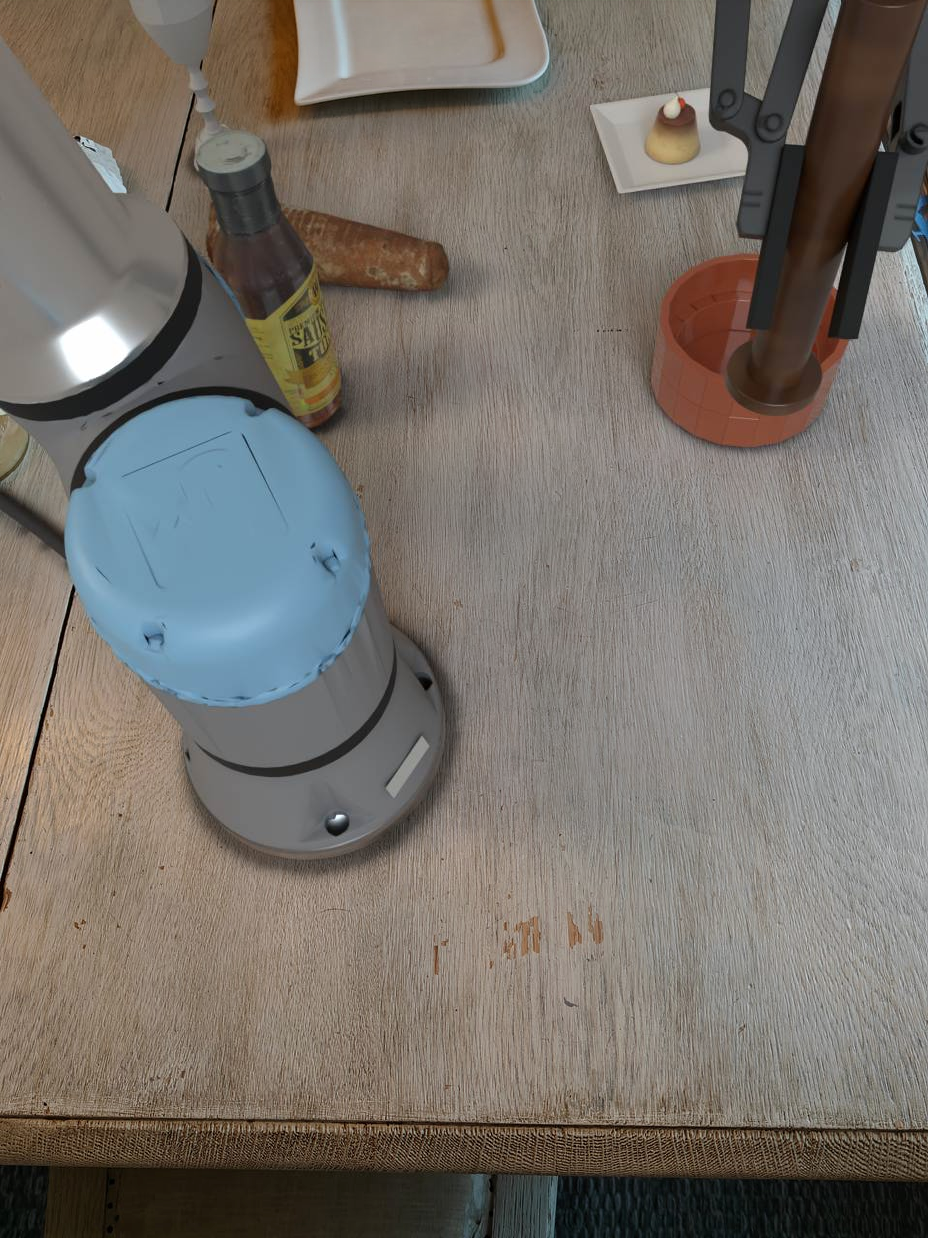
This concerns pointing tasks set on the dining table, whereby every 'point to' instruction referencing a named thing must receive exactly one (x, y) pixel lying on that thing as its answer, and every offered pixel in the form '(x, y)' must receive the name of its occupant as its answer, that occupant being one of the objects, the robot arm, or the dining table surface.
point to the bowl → (724, 355)
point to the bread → (360, 252)
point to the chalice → (184, 47)
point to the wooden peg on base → (827, 199)
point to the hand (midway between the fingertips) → (799, 332)
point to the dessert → (666, 142)
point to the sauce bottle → (270, 274)
